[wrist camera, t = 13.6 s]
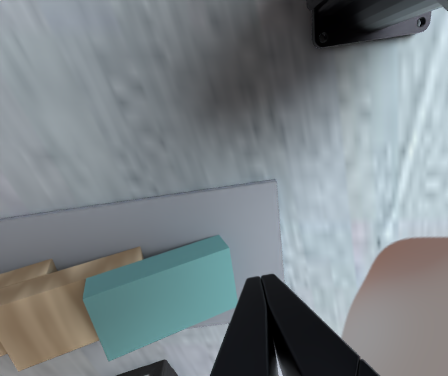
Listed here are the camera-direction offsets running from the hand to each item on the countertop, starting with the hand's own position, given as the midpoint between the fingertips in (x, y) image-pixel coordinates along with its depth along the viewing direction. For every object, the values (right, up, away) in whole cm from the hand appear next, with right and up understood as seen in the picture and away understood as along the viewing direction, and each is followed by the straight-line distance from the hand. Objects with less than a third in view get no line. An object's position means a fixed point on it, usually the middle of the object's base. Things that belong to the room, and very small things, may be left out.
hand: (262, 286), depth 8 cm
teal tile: (-1, -3, +11) cm, 12 cm away
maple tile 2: (-7, -4, +11) cm, 14 cm away
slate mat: (-9, -4, +13) cm, 16 cm away
